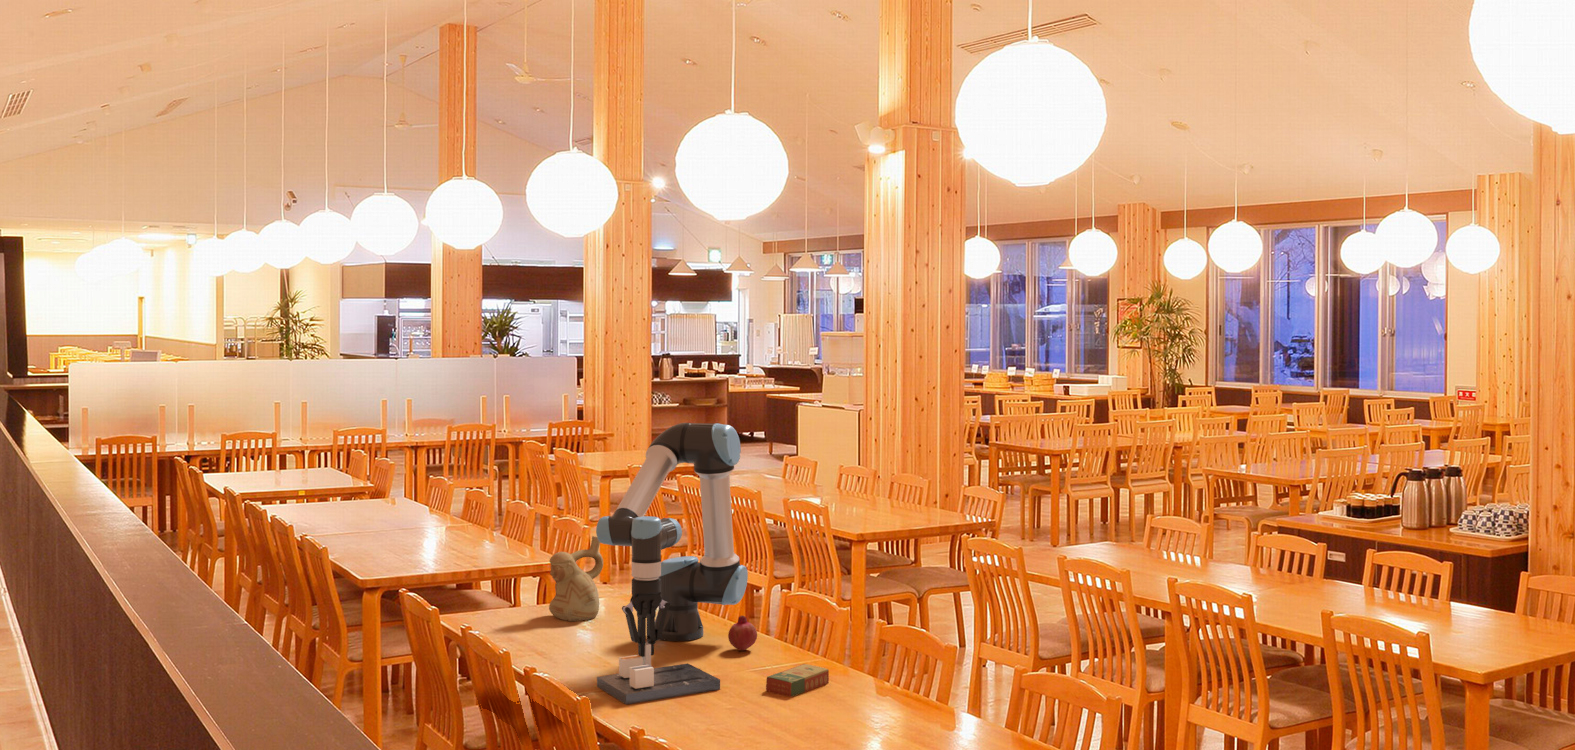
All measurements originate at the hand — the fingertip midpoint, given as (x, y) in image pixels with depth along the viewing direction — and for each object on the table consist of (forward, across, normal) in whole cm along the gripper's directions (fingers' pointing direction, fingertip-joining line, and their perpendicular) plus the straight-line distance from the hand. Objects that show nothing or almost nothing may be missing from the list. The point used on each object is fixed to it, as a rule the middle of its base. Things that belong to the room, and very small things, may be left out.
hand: (646, 668), depth 328 cm
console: (+4, -1, +5) cm, 6 cm away
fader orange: (+2, +4, 0) cm, 5 cm away
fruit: (+4, -38, -17) cm, 42 cm away
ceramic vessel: (+4, -14, -79) cm, 80 cm away
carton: (+5, -32, +22) cm, 39 cm away
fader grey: (+2, +6, +10) cm, 12 cm away
